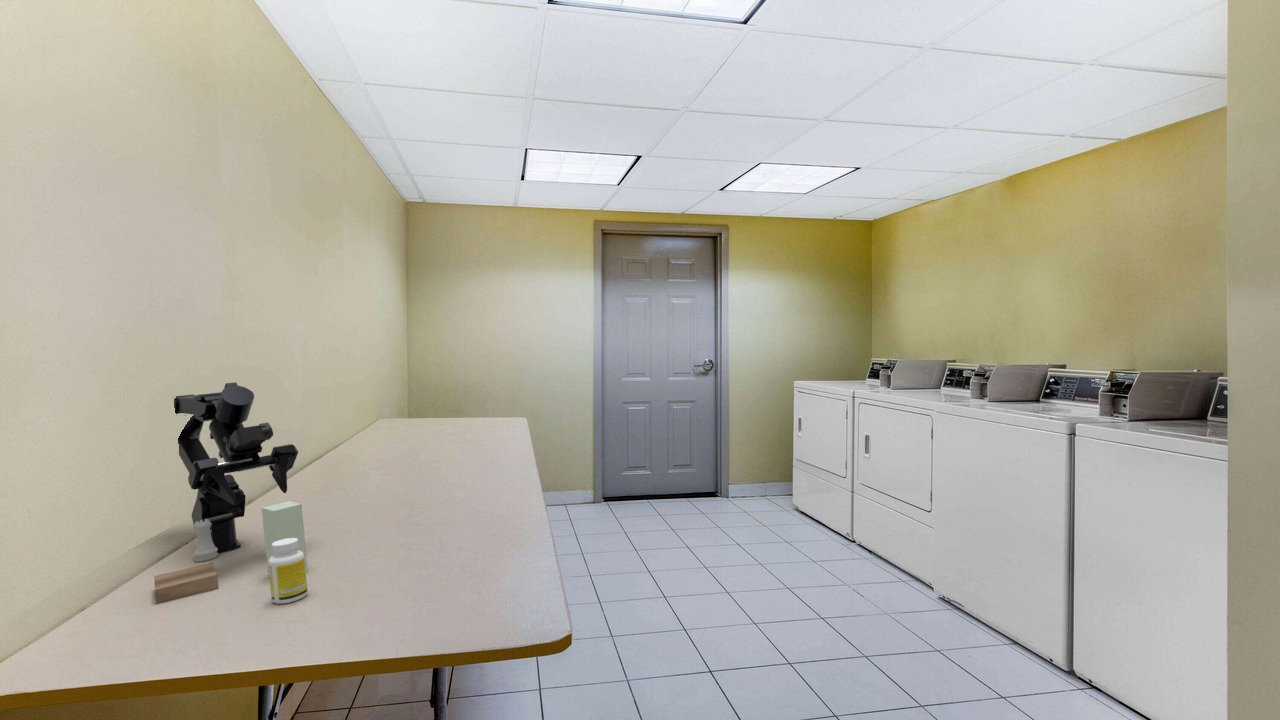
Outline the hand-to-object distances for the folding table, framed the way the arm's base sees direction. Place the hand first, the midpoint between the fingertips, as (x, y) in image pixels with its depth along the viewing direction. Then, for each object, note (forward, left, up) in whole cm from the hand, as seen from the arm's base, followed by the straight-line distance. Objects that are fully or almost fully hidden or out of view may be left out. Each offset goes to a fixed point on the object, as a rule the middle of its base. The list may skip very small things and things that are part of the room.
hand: (261, 497), depth 127 cm
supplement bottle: (+22, 0, -14) cm, 26 cm away
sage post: (+8, +2, -14) cm, 16 cm away
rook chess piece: (-17, -9, -14) cm, 24 cm away
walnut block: (+2, -13, -14) cm, 20 cm away
